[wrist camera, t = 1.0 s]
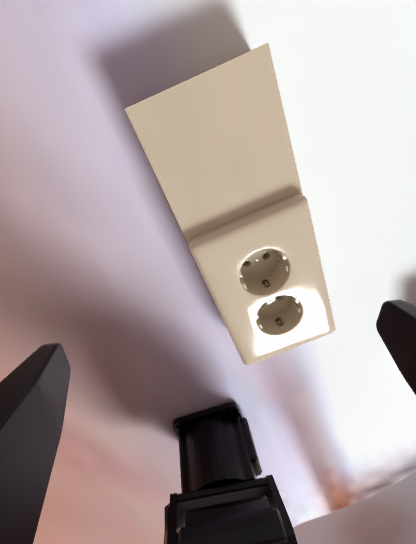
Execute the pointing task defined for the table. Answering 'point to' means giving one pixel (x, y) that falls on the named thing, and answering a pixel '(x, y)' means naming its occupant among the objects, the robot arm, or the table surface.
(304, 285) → the electrical outlet
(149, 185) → the table surface
